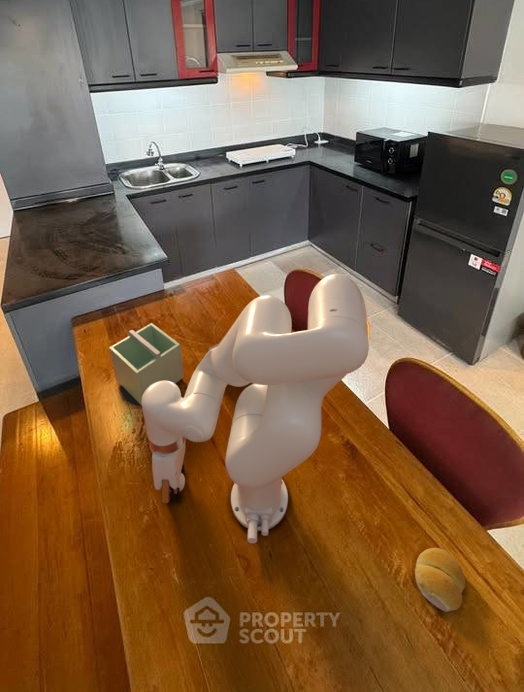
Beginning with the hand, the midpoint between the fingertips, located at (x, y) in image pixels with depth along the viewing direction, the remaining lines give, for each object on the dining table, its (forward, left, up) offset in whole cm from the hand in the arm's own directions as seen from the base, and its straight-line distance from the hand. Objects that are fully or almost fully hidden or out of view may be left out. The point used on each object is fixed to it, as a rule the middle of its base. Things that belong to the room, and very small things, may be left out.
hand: (175, 487), depth 86 cm
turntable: (+30, +14, 0) cm, 33 cm away
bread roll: (-16, -53, -1) cm, 55 cm away
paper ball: (0, 0, +2) cm, 2 cm away
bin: (+30, +14, +1) cm, 33 cm away
